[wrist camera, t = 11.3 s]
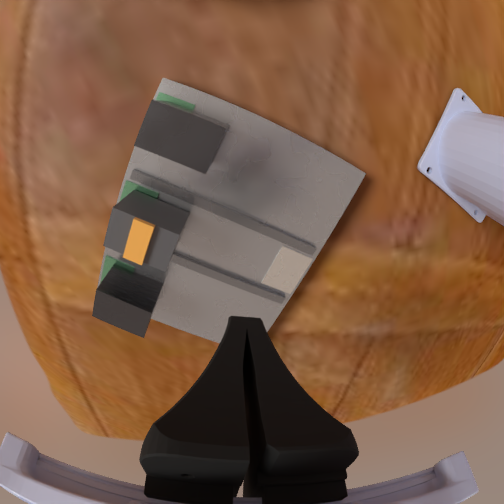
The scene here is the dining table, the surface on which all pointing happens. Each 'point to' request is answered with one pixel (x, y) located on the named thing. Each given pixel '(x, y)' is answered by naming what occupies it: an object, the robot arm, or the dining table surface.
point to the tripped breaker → (145, 229)
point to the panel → (223, 215)
